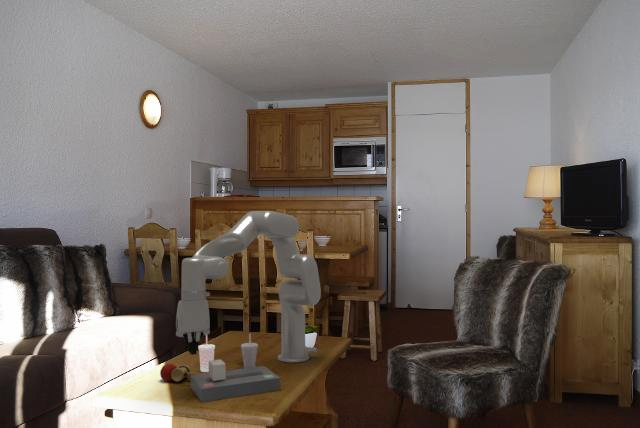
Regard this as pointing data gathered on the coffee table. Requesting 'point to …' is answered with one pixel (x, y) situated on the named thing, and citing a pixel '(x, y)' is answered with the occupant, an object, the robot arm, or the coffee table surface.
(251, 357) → the smoothie
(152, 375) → the coffee table surface
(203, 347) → the beverage cup
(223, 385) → the switch panel
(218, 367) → the breaker knob
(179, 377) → the kendama
